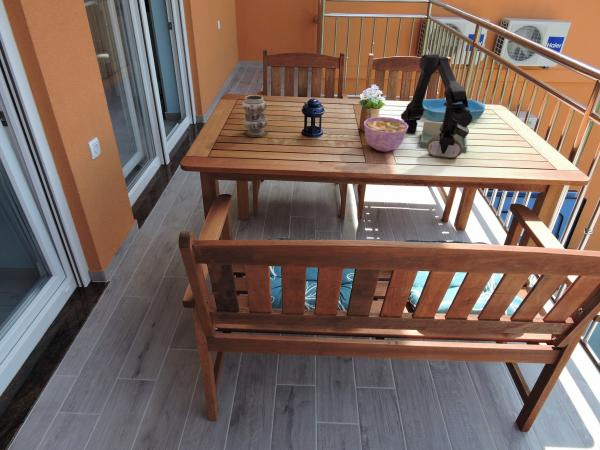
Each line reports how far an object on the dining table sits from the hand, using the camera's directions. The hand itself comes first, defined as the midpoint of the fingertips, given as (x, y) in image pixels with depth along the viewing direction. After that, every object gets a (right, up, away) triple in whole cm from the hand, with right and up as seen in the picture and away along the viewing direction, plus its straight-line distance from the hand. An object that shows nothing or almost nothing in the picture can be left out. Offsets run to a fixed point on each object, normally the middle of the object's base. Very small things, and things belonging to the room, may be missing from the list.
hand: (443, 152), depth 188 cm
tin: (0, -2, +1) cm, 2 cm away
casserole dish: (+19, +28, +46) cm, 57 cm away
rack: (+5, +7, +14) cm, 16 cm away
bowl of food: (-26, +3, +8) cm, 27 cm away
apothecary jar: (-87, +13, +21) cm, 90 cm away
